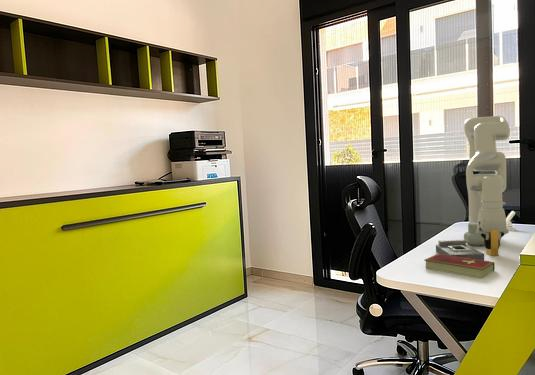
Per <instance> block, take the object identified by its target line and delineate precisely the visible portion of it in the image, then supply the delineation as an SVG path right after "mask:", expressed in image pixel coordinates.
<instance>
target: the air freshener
mask: <svg viewBox="0 0 535 375" xmlns="http://www.w3.org/2000/svg"><path fill="white" fill-rule="evenodd" d="M467 227H468V228H467V232H465V233H464V234H463V240H465V241H466V244H467V245H469V246H484V238H483V237H482V236H481V235H479V234H476V233H475V232H476V230H477V223H476V222H472V223H469V222H468V225H467ZM481 233H483V232H482V231H481Z"/></svg>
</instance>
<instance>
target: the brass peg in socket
mask: <svg viewBox="0 0 535 375" xmlns="http://www.w3.org/2000/svg"><path fill="white" fill-rule="evenodd" d="M489 240H490V249H487V248H485V253H486V255H489V256H491V257H498V256H499V249H498V230H491V232H490V233H489Z"/></svg>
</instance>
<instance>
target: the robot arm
mask: <svg viewBox="0 0 535 375" xmlns="http://www.w3.org/2000/svg"><path fill="white" fill-rule="evenodd" d="M463 129H464V134H465V136H466V138H467V141H468V145H469V161H468V163H467V165H466V168H465V177H466V178H465V180H466V188H467V189H466V190H467V196H468V224H469V223H472V222H476V223H477V230H476V232H475V233H476V234H479V235H481V236H482V237H483V238H484V245H483V246H484V248H485V249H486V248H487V249H490V240H489V233H490V232H491V230H498V250H499V249H500V247H501V240H502V238H503V237H504V236H505V235H507V234H509V233H510V231H508V229H507V227H506V218H507V216H506V211H505V208H504V206H506V202H505V201H503V192H505V191H506V189H507V159H506V155H505V154H504V153H503V152H502V151H497V145H496V144H497V143H496V141H506V140H508V139H509V138H510V135H511V129H510V125H509V123H508V121H507V120H506V118H505V117H504V116H502V115H496V116H495V115H494V116H479V117H471V118H468V119H466V120H465V121H464V124H463ZM474 172H495V173H475V174H474ZM481 231H482V232H483V233H481Z"/></svg>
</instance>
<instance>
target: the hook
mask: <svg viewBox="0 0 535 375" xmlns="http://www.w3.org/2000/svg"><path fill="white" fill-rule="evenodd" d="M515 215H516V212H515V211H514V210H511V211H510V213H508V215H507V216H506V227H507V229H508V231H509V232H510V231H511V232H513V231H516V230H517V228H516V227H515V226H514V225H513V223H512V222H511V220H512V219H513V217H514V216H515Z"/></svg>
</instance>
